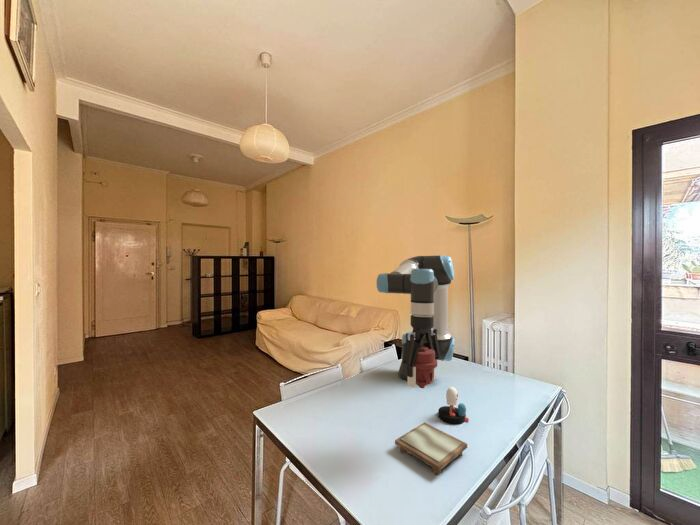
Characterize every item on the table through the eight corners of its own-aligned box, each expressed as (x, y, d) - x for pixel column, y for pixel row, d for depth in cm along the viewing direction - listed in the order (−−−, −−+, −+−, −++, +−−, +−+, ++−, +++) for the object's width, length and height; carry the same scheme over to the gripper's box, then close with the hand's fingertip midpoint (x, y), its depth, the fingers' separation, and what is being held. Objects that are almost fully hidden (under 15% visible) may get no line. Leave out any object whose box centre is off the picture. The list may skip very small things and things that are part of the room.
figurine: (469, 427, 105) (469, 395, 105) (437, 422, 109) (437, 390, 109) (468, 415, 114) (468, 384, 114) (439, 410, 118) (439, 380, 118)
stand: (424, 431, 103) (424, 421, 103) (467, 453, 91) (467, 442, 91) (394, 450, 93) (395, 439, 93) (438, 478, 80) (438, 465, 80)
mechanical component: (436, 380, 99) (438, 392, 90) (406, 377, 102) (405, 389, 92) (436, 344, 100) (438, 352, 90) (406, 342, 102) (406, 350, 92)
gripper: (432, 310, 106) (432, 371, 106) (390, 316, 92) (390, 387, 91) (450, 313, 100) (450, 377, 100) (409, 320, 86) (408, 395, 85)
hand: (421, 382), depth 96 cm, fingers closed on mechanical component, 10 cm apart
